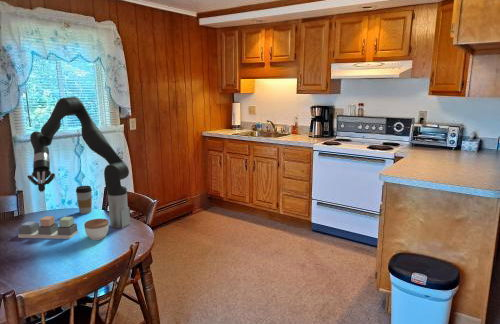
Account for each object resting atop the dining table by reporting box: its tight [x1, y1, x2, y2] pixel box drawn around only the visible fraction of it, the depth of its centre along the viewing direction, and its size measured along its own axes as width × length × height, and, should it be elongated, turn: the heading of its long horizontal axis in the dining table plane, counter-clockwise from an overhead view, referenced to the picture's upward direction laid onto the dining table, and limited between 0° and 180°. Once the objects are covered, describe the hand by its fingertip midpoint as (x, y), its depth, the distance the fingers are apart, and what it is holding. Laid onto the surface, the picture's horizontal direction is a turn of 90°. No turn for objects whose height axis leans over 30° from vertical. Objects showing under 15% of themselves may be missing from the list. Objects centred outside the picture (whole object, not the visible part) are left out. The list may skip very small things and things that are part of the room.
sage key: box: [59, 216, 75, 227], centre depth 171 cm, size 4×4×4 cm
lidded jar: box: [84, 218, 110, 241], centre depth 169 cm, size 11×11×9 cm
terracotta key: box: [39, 215, 56, 227], centre depth 171 cm, size 4×4×4 cm
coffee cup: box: [75, 185, 93, 215], centre depth 204 cm, size 8×8×15 cm
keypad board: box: [17, 222, 79, 240], centre depth 172 cm, size 25×8×5 cm, turn 88°
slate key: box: [20, 221, 37, 227], centre depth 172 cm, size 4×4×4 cm
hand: (41, 190), depth 181 cm, fingers closed
